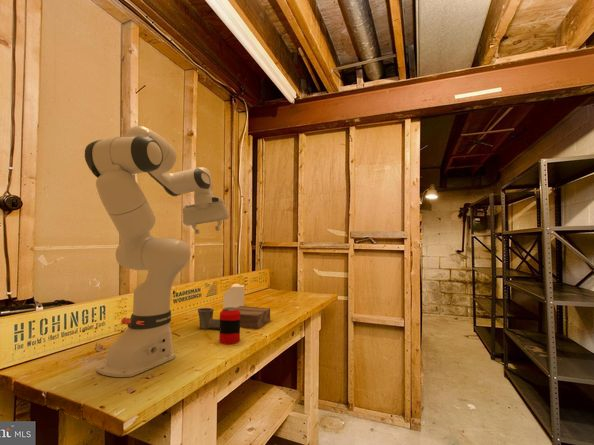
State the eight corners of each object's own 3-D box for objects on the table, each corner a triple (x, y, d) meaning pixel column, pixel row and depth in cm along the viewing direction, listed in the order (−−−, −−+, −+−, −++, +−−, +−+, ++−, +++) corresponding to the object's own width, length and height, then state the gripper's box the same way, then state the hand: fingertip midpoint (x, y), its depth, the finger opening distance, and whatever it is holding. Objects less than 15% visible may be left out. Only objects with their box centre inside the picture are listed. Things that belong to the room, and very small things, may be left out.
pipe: (219, 332, 121) (220, 312, 121) (193, 329, 124) (193, 310, 125) (227, 327, 126) (227, 309, 127) (201, 324, 130) (202, 306, 131)
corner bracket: (242, 308, 160) (243, 286, 160) (222, 308, 159) (222, 286, 160) (245, 304, 170) (245, 283, 171) (225, 304, 170) (226, 283, 170)
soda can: (215, 342, 109) (215, 309, 109) (229, 336, 115) (229, 305, 116) (230, 346, 105) (230, 312, 106) (243, 339, 112) (244, 308, 112)
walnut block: (257, 330, 124) (257, 316, 124) (224, 326, 129) (224, 312, 129) (270, 321, 138) (270, 308, 138) (239, 318, 142) (240, 305, 143)
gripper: (179, 204, 130) (181, 234, 127) (224, 197, 130) (227, 227, 127) (185, 208, 136) (187, 236, 133) (228, 201, 136) (231, 229, 133)
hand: (207, 232), depth 130 cm, fingers open, 8 cm apart
